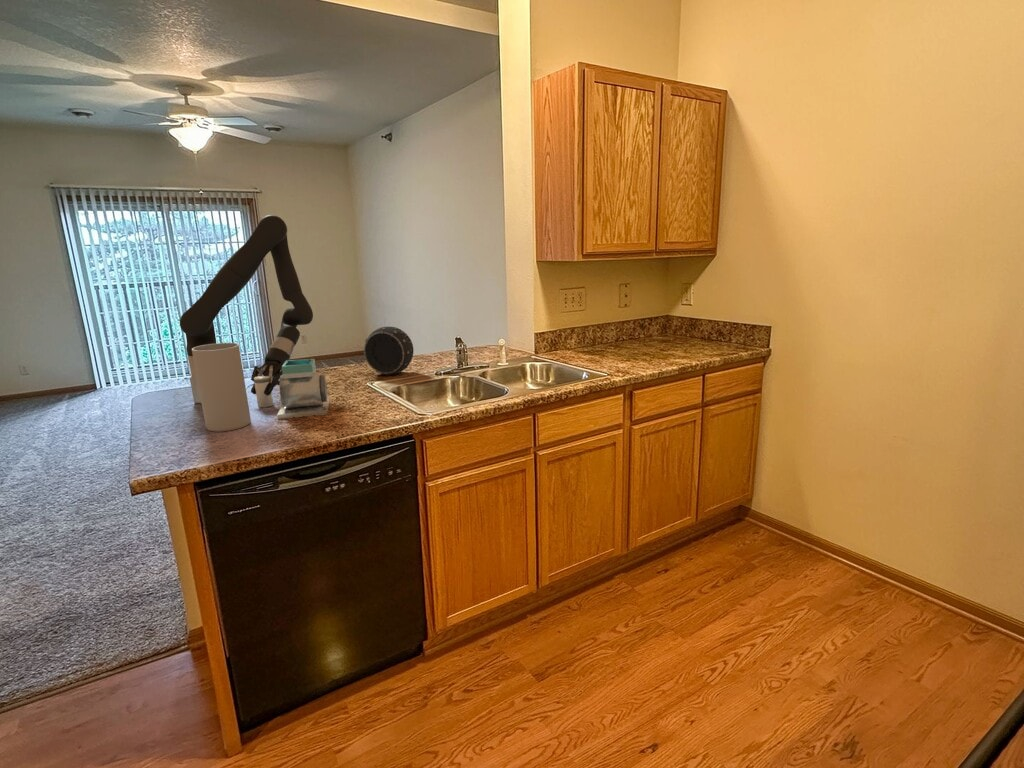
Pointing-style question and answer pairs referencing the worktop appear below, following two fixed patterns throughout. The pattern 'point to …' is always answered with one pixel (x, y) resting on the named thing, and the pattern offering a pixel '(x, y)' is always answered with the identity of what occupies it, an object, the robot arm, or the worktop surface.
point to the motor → (302, 390)
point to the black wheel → (388, 350)
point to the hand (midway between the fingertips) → (259, 393)
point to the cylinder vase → (221, 386)
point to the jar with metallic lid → (262, 391)
